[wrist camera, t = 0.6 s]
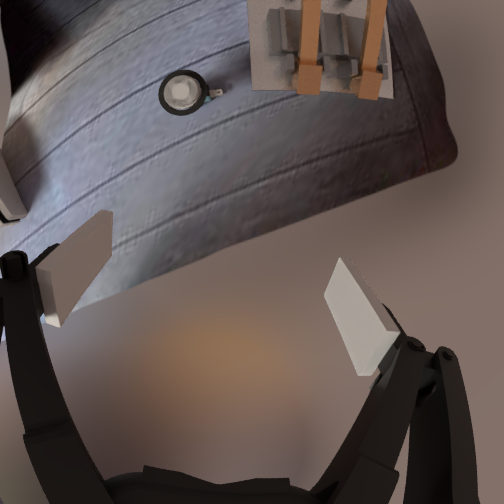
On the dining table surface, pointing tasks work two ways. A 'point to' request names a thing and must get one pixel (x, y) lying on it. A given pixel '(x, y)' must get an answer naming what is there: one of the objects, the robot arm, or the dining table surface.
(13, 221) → the pale grey rounded block
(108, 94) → the dining table surface
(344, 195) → the dining table surface
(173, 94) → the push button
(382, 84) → the heatsink base
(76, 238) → the robot arm
